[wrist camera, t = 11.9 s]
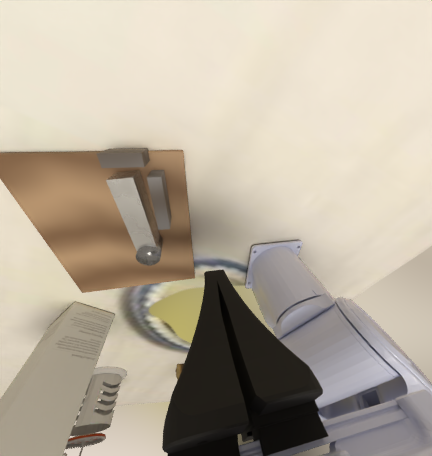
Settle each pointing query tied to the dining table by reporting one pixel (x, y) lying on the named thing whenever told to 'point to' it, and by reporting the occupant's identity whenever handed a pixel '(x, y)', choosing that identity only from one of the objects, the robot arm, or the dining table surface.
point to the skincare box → (53, 384)
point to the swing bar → (137, 215)
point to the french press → (101, 417)
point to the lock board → (103, 212)
